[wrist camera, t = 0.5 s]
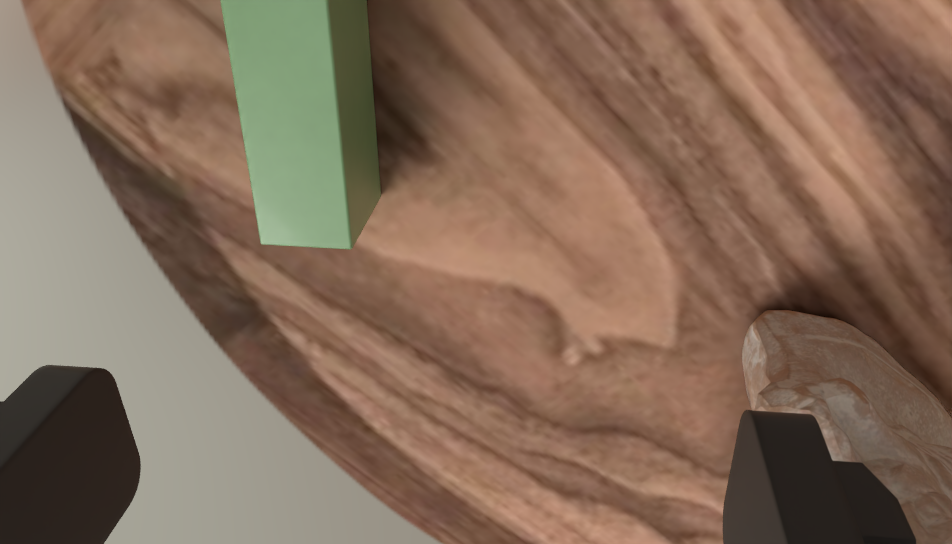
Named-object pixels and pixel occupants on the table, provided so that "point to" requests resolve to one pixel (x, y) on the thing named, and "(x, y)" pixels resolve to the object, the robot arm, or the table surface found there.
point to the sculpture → (857, 408)
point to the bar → (306, 117)
